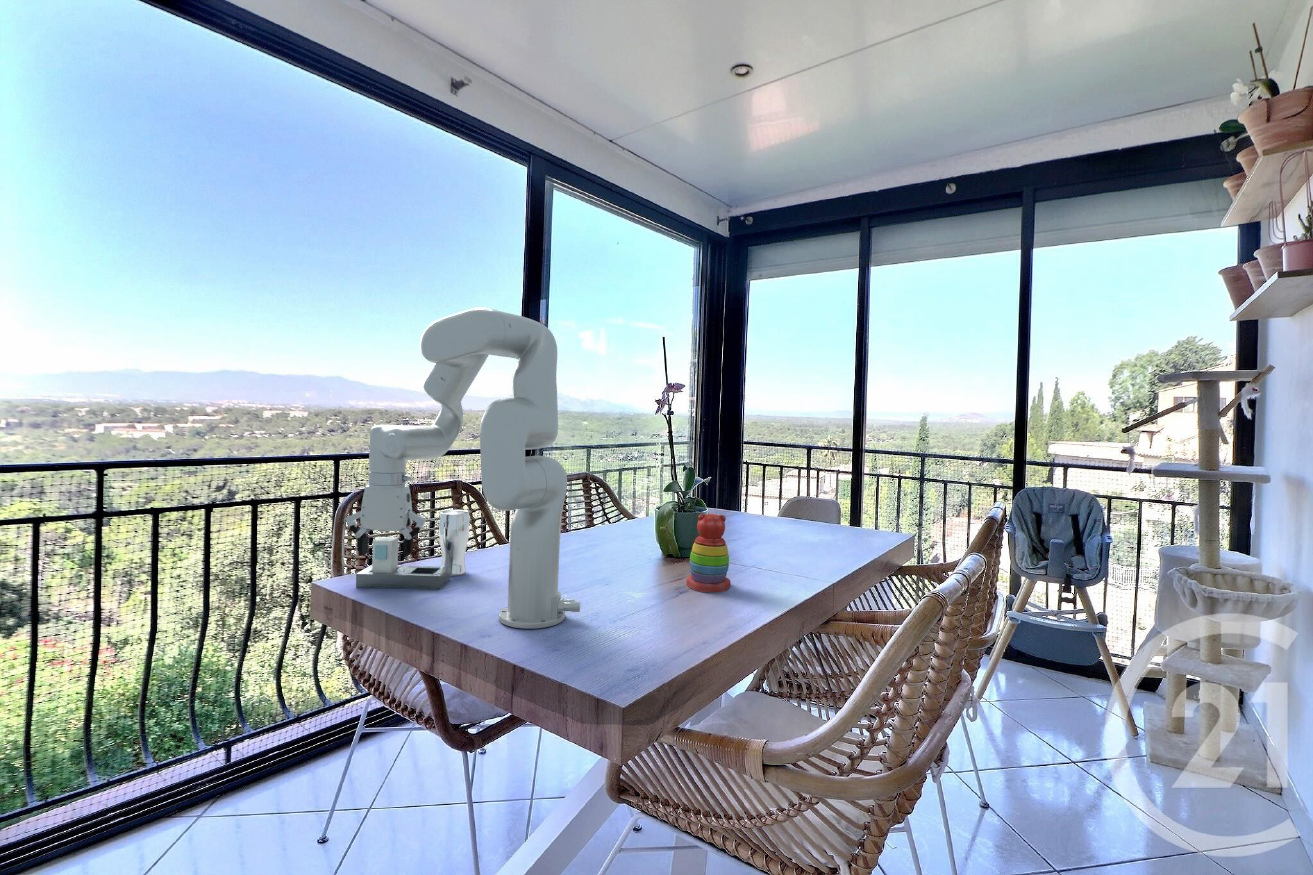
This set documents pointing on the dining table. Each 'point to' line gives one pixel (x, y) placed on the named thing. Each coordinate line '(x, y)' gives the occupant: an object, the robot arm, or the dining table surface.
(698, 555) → the stacking bear
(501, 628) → the dining table surface
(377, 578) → the panel
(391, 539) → the plug
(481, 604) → the dining table surface
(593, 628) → the dining table surface
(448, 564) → the beer glass
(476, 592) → the dining table surface
